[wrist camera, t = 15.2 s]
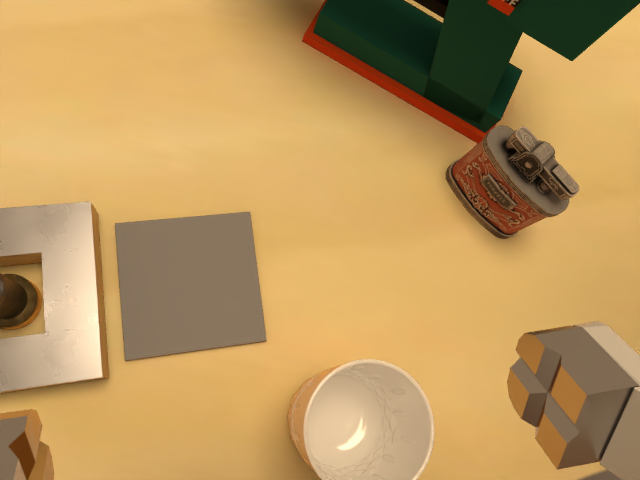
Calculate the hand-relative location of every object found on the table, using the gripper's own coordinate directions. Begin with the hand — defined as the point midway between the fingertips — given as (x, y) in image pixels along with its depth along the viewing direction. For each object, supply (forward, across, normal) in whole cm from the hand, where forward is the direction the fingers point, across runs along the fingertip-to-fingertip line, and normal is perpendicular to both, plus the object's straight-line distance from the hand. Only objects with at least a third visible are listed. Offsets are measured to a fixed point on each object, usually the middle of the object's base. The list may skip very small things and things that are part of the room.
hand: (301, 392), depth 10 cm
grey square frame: (+29, +14, +18) cm, 37 cm away
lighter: (+32, -24, +15) cm, 43 cm away
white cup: (+21, -8, +26) cm, 35 cm away
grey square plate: (+29, +1, +18) cm, 34 cm away
